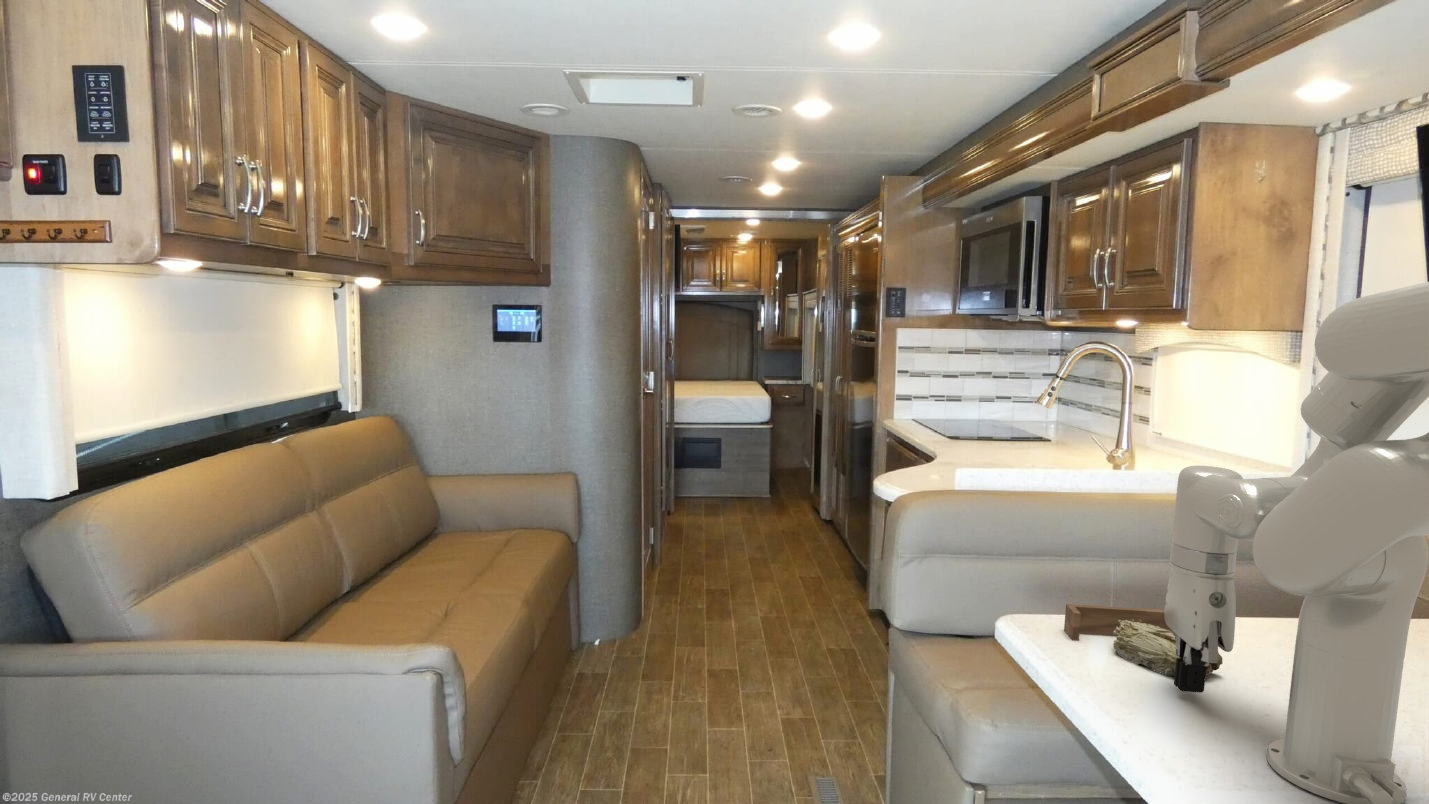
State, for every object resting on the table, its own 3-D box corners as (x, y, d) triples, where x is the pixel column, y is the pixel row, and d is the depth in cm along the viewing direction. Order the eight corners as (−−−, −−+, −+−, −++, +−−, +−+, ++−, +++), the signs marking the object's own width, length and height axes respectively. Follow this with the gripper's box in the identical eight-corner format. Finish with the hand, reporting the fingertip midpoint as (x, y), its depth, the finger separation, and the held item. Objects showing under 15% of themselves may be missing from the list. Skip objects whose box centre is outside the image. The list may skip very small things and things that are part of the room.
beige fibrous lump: (1228, 676, 118) (1231, 641, 118) (1190, 690, 113) (1194, 653, 113) (1134, 640, 131) (1137, 608, 130) (1097, 651, 126) (1100, 618, 125)
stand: (1197, 648, 127) (1199, 620, 127) (1072, 640, 129) (1074, 612, 129) (1185, 638, 131) (1187, 611, 131) (1064, 630, 133) (1066, 604, 133)
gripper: (1263, 579, 100) (1247, 719, 103) (1204, 544, 115) (1191, 667, 117) (1200, 575, 101) (1185, 714, 103) (1149, 541, 116) (1137, 663, 118)
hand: (1188, 688), depth 110 cm, fingers closed
